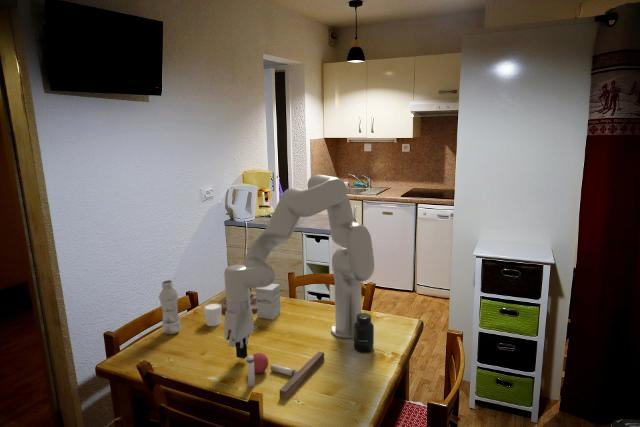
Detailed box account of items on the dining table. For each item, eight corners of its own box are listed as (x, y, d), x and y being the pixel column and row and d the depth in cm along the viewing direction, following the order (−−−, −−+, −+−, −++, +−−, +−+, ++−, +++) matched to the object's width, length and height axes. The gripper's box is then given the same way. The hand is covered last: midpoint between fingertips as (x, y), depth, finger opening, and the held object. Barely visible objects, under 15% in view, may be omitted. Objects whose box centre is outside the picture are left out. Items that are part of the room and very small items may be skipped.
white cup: (226, 321, 175) (225, 305, 174) (213, 328, 170) (212, 311, 168) (213, 318, 179) (212, 301, 178) (201, 324, 173) (199, 307, 172)
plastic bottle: (176, 337, 163) (171, 285, 159) (159, 335, 165) (154, 284, 161) (184, 329, 169) (180, 279, 166) (168, 328, 171) (163, 278, 167)
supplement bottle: (360, 355, 146) (360, 321, 144) (349, 347, 152) (349, 314, 150) (377, 350, 150) (377, 317, 147) (366, 342, 156) (366, 310, 153)
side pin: (256, 383, 132) (255, 356, 130) (252, 387, 130) (250, 359, 128) (251, 382, 133) (249, 354, 131) (246, 385, 131) (245, 357, 129)
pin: (275, 366, 140) (299, 373, 136) (271, 371, 139) (296, 378, 134) (273, 362, 139) (297, 369, 135) (269, 367, 138) (294, 374, 133)
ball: (257, 346, 137) (256, 351, 142) (245, 363, 134) (244, 367, 139) (272, 358, 136) (271, 362, 141) (261, 374, 133) (260, 378, 138)
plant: (224, 297, 202) (223, 274, 199) (267, 297, 200) (266, 274, 198) (211, 316, 182) (209, 290, 180) (258, 316, 181) (256, 290, 178)
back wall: (324, 359, 145) (324, 352, 144) (285, 399, 124) (285, 391, 123) (318, 358, 146) (318, 351, 145) (279, 397, 125) (279, 389, 124)
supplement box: (256, 318, 178) (255, 288, 176) (265, 310, 185) (263, 281, 182) (273, 320, 175) (271, 289, 173) (281, 312, 182) (280, 283, 180)
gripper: (243, 294, 149) (246, 344, 153) (213, 310, 136) (217, 365, 140) (261, 297, 146) (264, 349, 150) (233, 314, 133) (237, 370, 137)
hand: (241, 356), depth 145 cm, fingers closed
